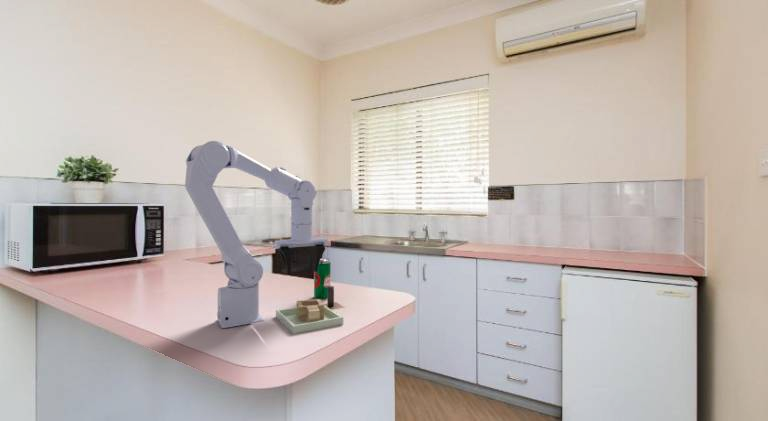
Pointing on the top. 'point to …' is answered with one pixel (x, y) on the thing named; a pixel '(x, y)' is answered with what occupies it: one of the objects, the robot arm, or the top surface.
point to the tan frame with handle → (310, 310)
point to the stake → (332, 299)
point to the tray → (295, 326)
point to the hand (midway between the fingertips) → (301, 272)
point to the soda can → (322, 279)
